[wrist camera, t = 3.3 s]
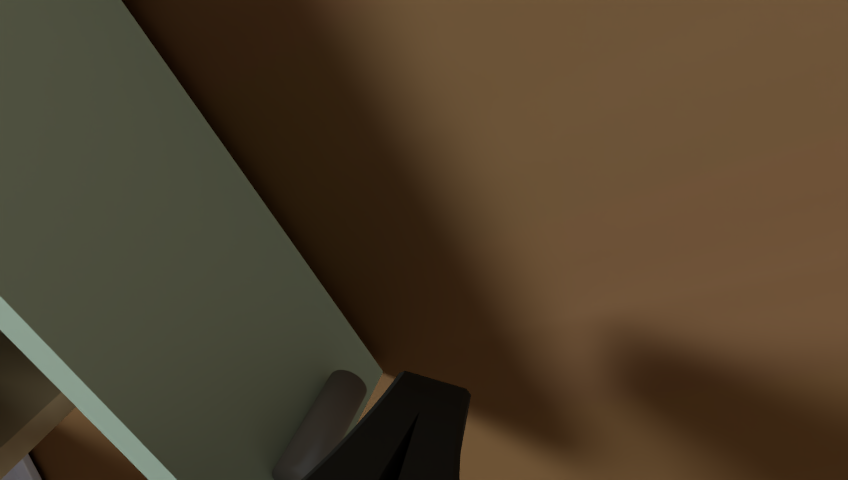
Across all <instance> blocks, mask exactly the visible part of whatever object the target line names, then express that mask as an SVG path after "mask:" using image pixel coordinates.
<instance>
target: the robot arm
mask: <svg viewBox="0 0 848 480" xmlns="http://www.w3.org/2000/svg"><path fill="white" fill-rule="evenodd" d="M470 397H471V394H470V393H469V392H468V391H467V389H465V388H461V387H458V386H455V385H451V384H448V383H444V382H441V381H438V380H434V379H431V378H428V377H424V376H421V375H417V374H414V373H411V372H407V371H404V372H401V373H399V374H398V376H397V377H396V378H395V380H394V381H393V383H392V384H391V385H390V386H389V388H388V389H387V390H386V391H385V393H384V394H383V395H382V396H381V398H380V399H379V400H378V401H377V402H376V403H375V405H374V406H373V407H372V408H371V409H370V410H369V412H368V413H367V414H366V415H365V416H364V417H363V418H362V419H361V420H360V422H359V423H358V424H357V425H356V426H355V427H354V428H353V429H352V430H351V431H350V432H349V433H348V434H347V435H346V436H345V437H344V438H343V439H342V440H341V442H340V443H339V444H338V445H337V446H336V447H335V448H334V449H333V450H332V451H331V452H330V453H329V454H328V455H327V456H326V457H325V458H324V459H323V460H322V461H321V462H320V463H319V464H317V465H316V466H315V467H314V468H313V469H312V470H311V471H310V472H309V473H308V474H307V475H306V476H305V477H304V478H302V479H301V480H459V470H460V453H461V447H462V441H463V436H464V430H465V425H466V419H467V414H468V408H469V403H470ZM1 480H42V479H41V477H40V475H39V473H38V471H37V469H36V467H35V466H34V464H33V462H32V460H31V458H30V456H29V454H27V455H26V456H25V457H24V458H23V459H22V460H21V461H20V462H19V463H17V464H16V465H15V466H14V467H13V468H12V469H11V470H10V471H9V472H8V473H7V474H6V475H5V476H4V477H3V478H2V479H1Z"/></svg>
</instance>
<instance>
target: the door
mask: <svg viewBox="0 0 848 480" xmlns="http://www.w3.org/2000/svg"><path fill="white" fill-rule="evenodd" d="M0 330H1V331H2V332H3V333H4V334H5V335H6V336H7V337H8V338H9V339H10V340H11V341H12V342H13V343H14V344H15V345H16V346H17V347H18V348H19V349H20V350H21V351H22V352H23V353H24V354H25V355H26V356H27V357H28V358H29V359H30V360H31V361H32V362H33V363H34V364H35V365H36V366H37V368H38V369H39V370H40V371H41V372H42V373H43V374H44V375H45V376H46V377H47V378H48V379H49V380H50V381H51V382H52V383H53V384H54V385H55V386H56V387H57V388H58V389H59V390H60V391H61V392H62V393H63V394H64V395H65V396H66V397H67V398H68V399H69V400H70V401H71V402H72V403H73V404H74V405H75V406H76V407H77V408H78V409H79V410H80V411H81V412H82V413H83V414H84V415H85V416H86V417H87V418H88V419H89V420H90V421H91V422H92V423H93V424H94V425H95V426H96V427H97V428H98V429H99V430H100V431H101V432H102V433H103V434H104V435H105V436H106V437H107V438H108V439H109V440H110V441H111V442H112V443H113V444H114V445H115V446H116V447H117V448H118V449H119V450H120V451H121V452H122V453H123V454H124V455H125V456H126V457H127V458H128V459H129V460H130V461H131V462H132V463H133V465H134V466H135V467H136V468H137V469H138V470H139V471H140V472H141V473H142V474H143V475H144V476H145V477H146V478H147V479H148V480H301V479H302V478H304V477H305V476H306V475H307V474H308V473H309V472H310V471H311V470H312V469H313V468H314V467H315V466H316V465H317V464H319V463H320V462H321V461H322V460H323V459H324V458H325V457H326V456H327V455H328V454H329V453H330V452H331V451H332V450H333V449H334V448H335V447H336V446H337V445H338V444H339V443H340V442H341V440H342V439H343V438H344V437H345V436H346V435H347V434H348V433H349V432H350V431H351V430H352V429H353V428H354V427H355V426H356V424H357V422H358V420H359V418H360V416H361V414H362V412H363V410H364V408H365V406H366V404H367V402H368V400H369V398H370V396H371V394H372V392H373V390H374V389H375V387H376V385H377V383H378V381H379V379H380V377H381V375H382V373H383V371H382V369H381V368H380V367H379V365H378V364H377V362H376V361H375V359H374V358H373V357H372V355H371V354H370V352H369V351H368V350H367V348H366V347H365V345H364V344H363V342H362V341H361V340H360V338H359V337H358V335H357V334H356V333H355V331H354V330H353V328H352V327H351V325H350V324H349V323H348V321H347V320H346V318H345V317H344V316H343V314H342V313H341V311H340V310H339V308H338V307H337V306H336V304H335V303H334V301H333V300H332V298H331V297H330V296H329V294H328V293H327V291H326V290H325V289H324V287H323V286H322V284H321V283H320V281H319V280H318V279H317V277H316V276H315V274H314V273H313V272H312V270H311V269H310V267H309V266H308V264H307V263H306V262H305V260H304V259H303V257H302V256H301V255H300V253H299V252H298V250H297V249H296V247H295V246H294V245H293V243H292V242H291V240H290V239H289V237H288V236H287V235H286V233H285V232H284V230H283V229H282V228H281V226H280V225H279V223H278V222H277V220H276V219H275V218H274V216H273V215H272V213H271V212H270V211H269V209H268V208H267V206H266V205H265V203H264V202H263V201H262V199H261V198H260V196H259V195H258V193H257V192H256V191H255V189H254V188H253V186H252V185H251V184H250V182H249V181H248V179H247V178H246V176H245V175H244V174H243V172H242V171H241V169H240V168H239V167H238V165H237V164H236V162H235V161H234V159H233V158H232V157H231V155H230V154H229V152H228V151H227V150H226V148H225V147H224V145H223V144H222V142H221V141H220V140H219V138H218V137H217V135H216V134H215V132H214V131H213V130H212V128H211V127H210V125H209V124H208V123H207V121H206V120H205V118H204V117H203V115H202V114H201V113H200V111H199V110H198V108H197V107H196V106H195V104H194V103H193V101H192V100H191V98H190V97H189V96H188V94H187V93H186V91H185V90H184V88H183V87H182V86H181V84H180V83H179V81H178V80H177V79H176V77H175V76H174V74H173V73H172V71H171V70H170V69H169V67H168V66H167V64H166V63H165V62H164V60H163V59H162V57H161V56H160V54H159V53H158V52H157V50H156V49H155V47H154V46H153V45H152V43H151V42H150V40H149V39H148V37H147V36H146V35H145V33H144V32H143V30H142V29H141V27H140V26H139V25H138V23H137V22H136V20H135V19H134V18H133V16H132V15H131V13H130V12H129V10H128V9H127V8H126V6H125V5H124V3H123V2H122V1H121V0H0Z"/></svg>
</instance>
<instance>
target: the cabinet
mask: <svg viewBox="0 0 848 480" xmlns="http://www.w3.org/2000/svg"><path fill="white" fill-rule="evenodd" d="M75 407H76V406H75V405H74V404H73V403H72V402H71V401H70V400H69V399H68V398H67V397H66V396H65V395H64V394H63V393H62V392H61V391H60V390H59V389H58V388H57V387H56V386H55V385H54V384H53V383H52V382H51V381H50V380H49V379H48V378H47V377H46V376H45V375H44V374H43V373H42V372H41V371H40V370H39V369H38V368H37V366H36V365H35V364H34V363H33V362H32V361H31V360H30V359H29V358H28V357H27V356H26V355H25V354H24V353H23V352H22V351H21V350H20V349H19V348H18V347H17V346H16V345H15V344H14V343H13V342H12V341H11V340H10V339H9V338H8V337H7V336H6V335H5V334H4V333H3V332H2V331H1V330H0V480H1V479H2V478H3V477H4V476H5V475H6V474H7V473H8V472H9V471H10V470H11V469H12V468H13V467H14V466H15V465H16V464H17V463H19V462H20V461H21V460H22V459H23V458H24V457H25V456H26V455H27V454H28V453H29V452H30V451H31V450H32V449H33V448H34V447H35V446H36V445H37V444H38V443H39V442H40V441H41V440H42V439H43V438H44V437H45V436H46V435H47V434H48V433H49V432H50V431H52V430H53V429H54V428H55V427H56V426H57V425H58V424H59V423H60V422H61V421H62V420H63V419H64V418H65V417H66V416H67V415H68V414H69V413H70V412H71V411H72V410H73V409H74V408H75Z"/></svg>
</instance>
